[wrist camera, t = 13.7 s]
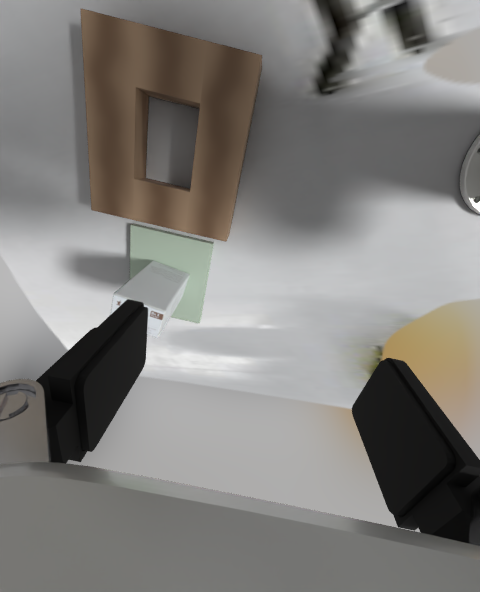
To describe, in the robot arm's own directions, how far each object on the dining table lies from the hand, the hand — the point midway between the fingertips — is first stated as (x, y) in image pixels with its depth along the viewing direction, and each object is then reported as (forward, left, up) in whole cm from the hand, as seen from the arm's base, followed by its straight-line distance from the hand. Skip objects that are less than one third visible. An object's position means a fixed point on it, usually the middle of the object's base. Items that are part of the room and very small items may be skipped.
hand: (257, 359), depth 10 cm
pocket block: (+13, -7, -28) cm, 32 cm away
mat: (+12, +11, -28) cm, 33 cm away
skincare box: (+12, +11, -28) cm, 32 cm away
